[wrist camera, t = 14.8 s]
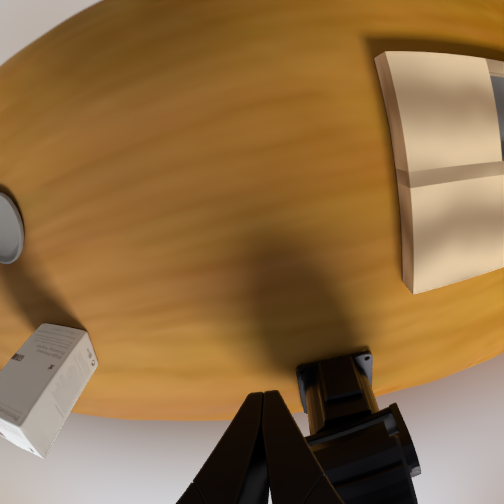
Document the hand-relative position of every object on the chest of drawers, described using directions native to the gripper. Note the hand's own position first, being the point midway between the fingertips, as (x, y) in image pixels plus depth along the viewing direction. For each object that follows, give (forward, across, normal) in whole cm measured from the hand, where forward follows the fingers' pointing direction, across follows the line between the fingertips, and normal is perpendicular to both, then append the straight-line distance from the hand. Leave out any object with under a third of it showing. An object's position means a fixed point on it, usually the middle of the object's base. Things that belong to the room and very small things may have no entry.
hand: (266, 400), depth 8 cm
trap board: (+13, -22, -3) cm, 25 cm away
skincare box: (+13, +20, +7) cm, 25 cm away
